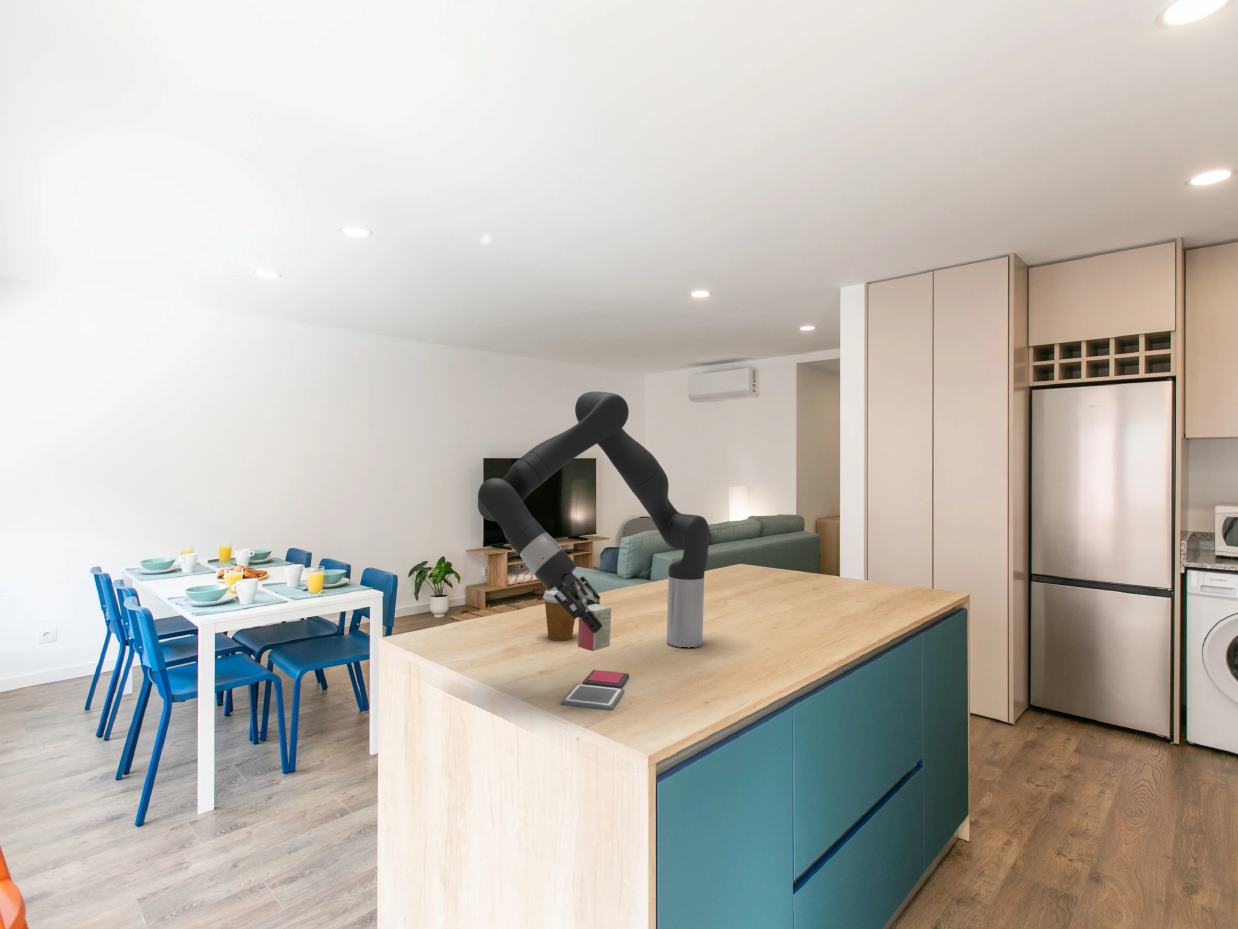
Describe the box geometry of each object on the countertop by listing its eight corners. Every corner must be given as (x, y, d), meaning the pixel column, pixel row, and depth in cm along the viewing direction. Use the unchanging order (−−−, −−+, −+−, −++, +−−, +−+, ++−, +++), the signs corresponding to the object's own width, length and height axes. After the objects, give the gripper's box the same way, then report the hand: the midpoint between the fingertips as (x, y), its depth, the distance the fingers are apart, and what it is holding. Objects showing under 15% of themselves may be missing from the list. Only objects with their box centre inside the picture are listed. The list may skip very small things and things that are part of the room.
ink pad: (593, 673, 139) (593, 668, 139) (629, 677, 137) (629, 672, 137) (582, 685, 131) (582, 680, 131) (620, 689, 129) (620, 684, 129)
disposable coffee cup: (581, 633, 171) (582, 589, 171) (575, 643, 162) (576, 596, 162) (546, 631, 172) (547, 587, 172) (538, 641, 163) (539, 594, 163)
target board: (576, 686, 131) (576, 683, 131) (624, 692, 128) (624, 688, 128) (560, 704, 121) (561, 700, 121) (612, 710, 119) (612, 706, 119)
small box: (593, 642, 128) (595, 603, 128) (610, 646, 125) (611, 606, 125) (576, 647, 124) (578, 606, 124) (593, 652, 121) (594, 610, 121)
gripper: (548, 553, 119) (608, 622, 117) (571, 544, 133) (625, 605, 131) (521, 579, 121) (579, 648, 118) (547, 567, 135) (599, 629, 132)
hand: (603, 625), depth 124 cm, fingers closed on small box, 6 cm apart
